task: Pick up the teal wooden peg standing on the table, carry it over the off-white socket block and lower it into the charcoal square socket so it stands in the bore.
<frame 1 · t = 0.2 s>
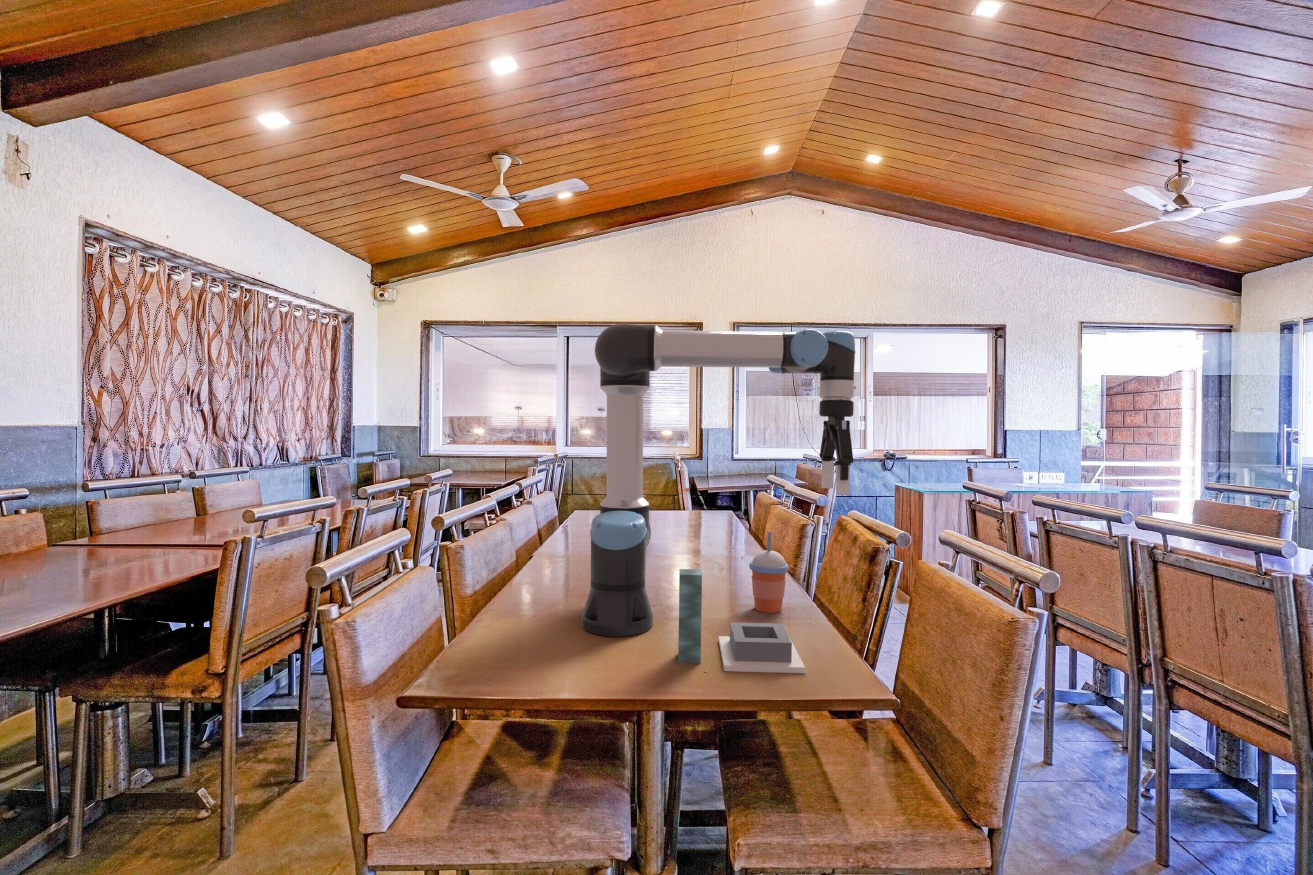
hand: (834, 491, 135), 28 cm above the table, tool pointing down, fingers open, 13 cm apart
peg: (689, 658, 107), on the table
socket block: (759, 656, 108), on the table
cup with straw: (768, 609, 136), on the table
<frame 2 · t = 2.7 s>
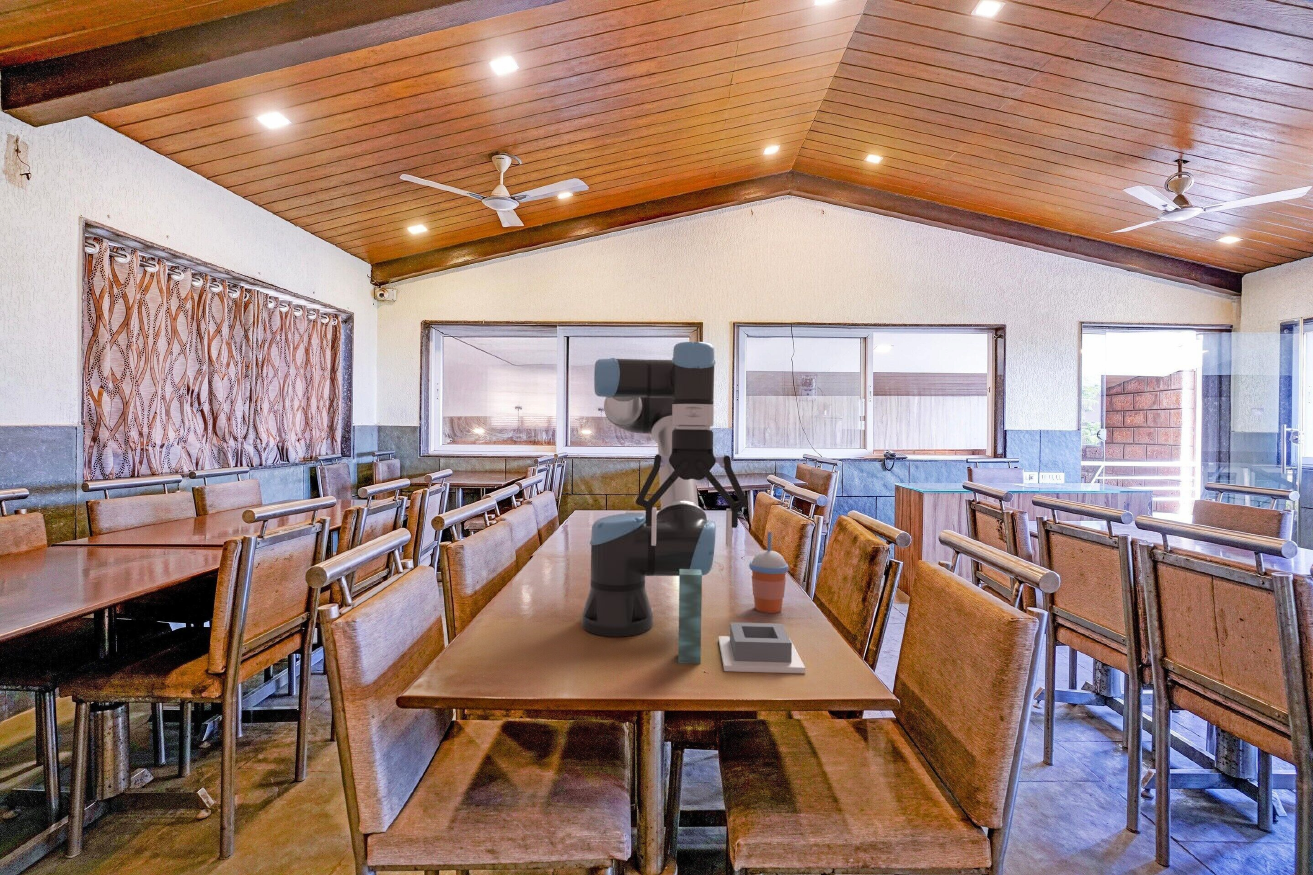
hand: (691, 545, 106), 21 cm above the table, tool pointing down, fingers open, 13 cm apart
nothing on the table moved.
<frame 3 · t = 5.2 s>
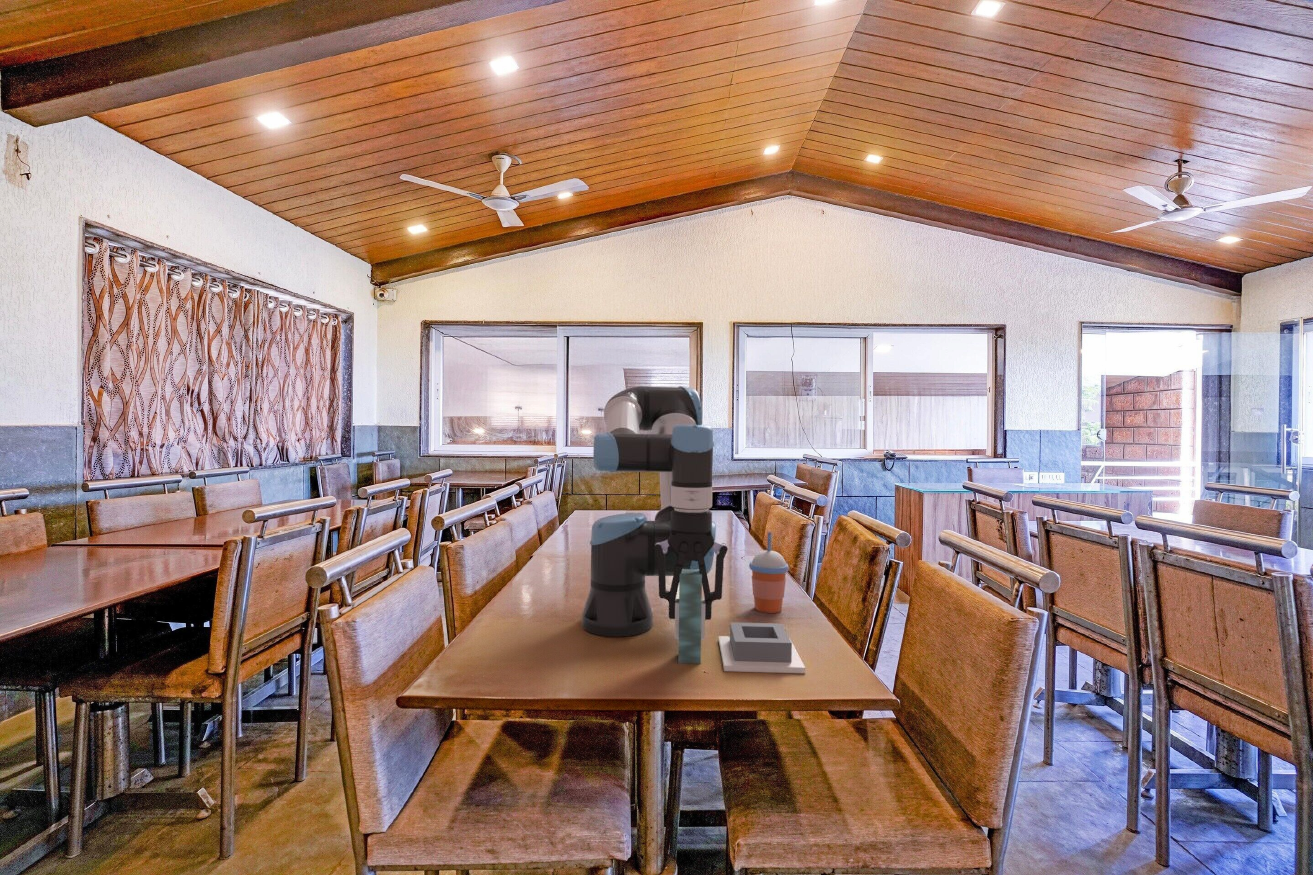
hand: (689, 636, 106), 4 cm above the table, tool pointing down, fingers closed on peg, 4 cm apart
peg: (689, 658, 107), on the table, touching gripper
everything else where it was.
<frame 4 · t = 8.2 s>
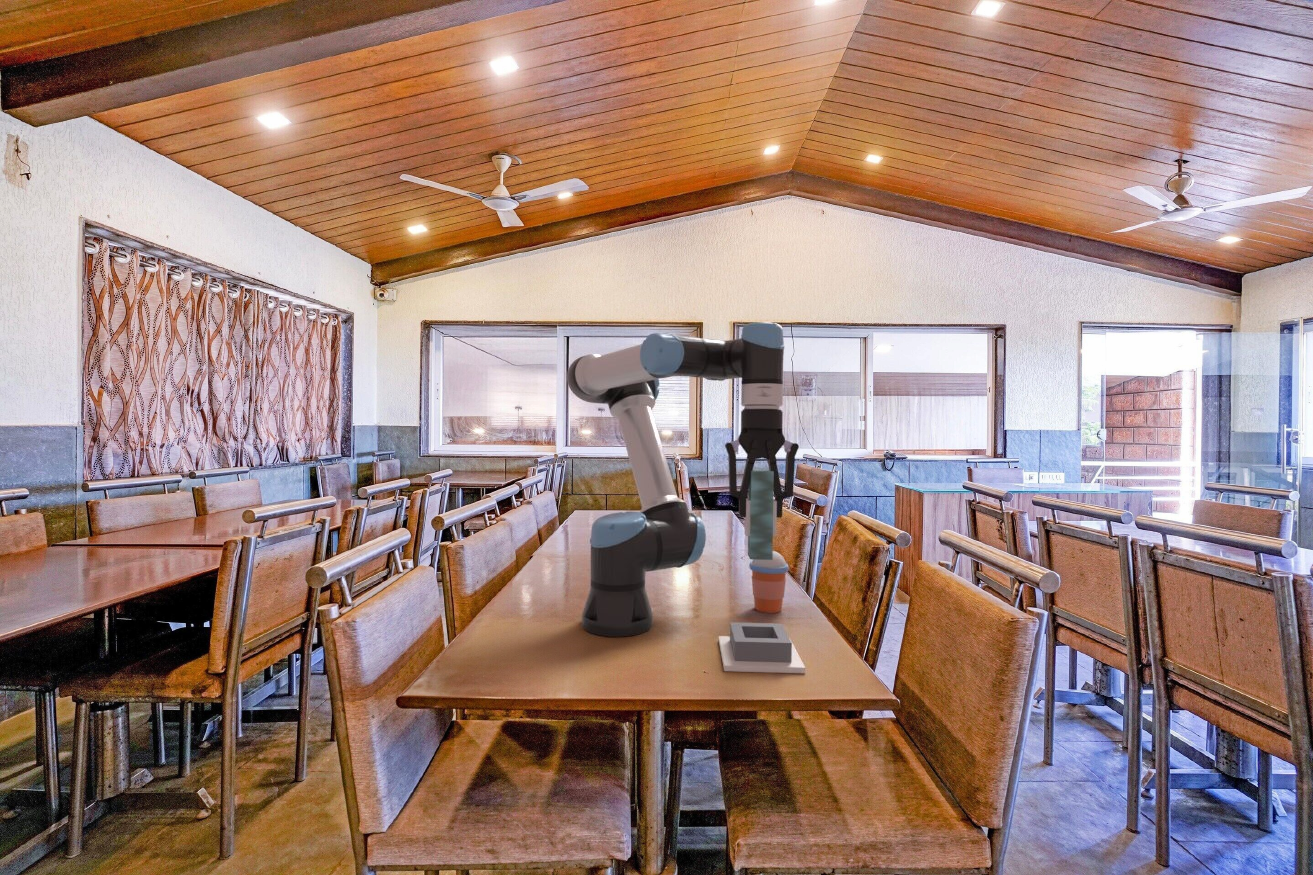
hand: (760, 534, 107), 23 cm above the table, tool pointing down, fingers closed on peg, 4 cm apart
peg: (759, 557, 107), point 19 cm above the table, touching gripper
everything else where it was.
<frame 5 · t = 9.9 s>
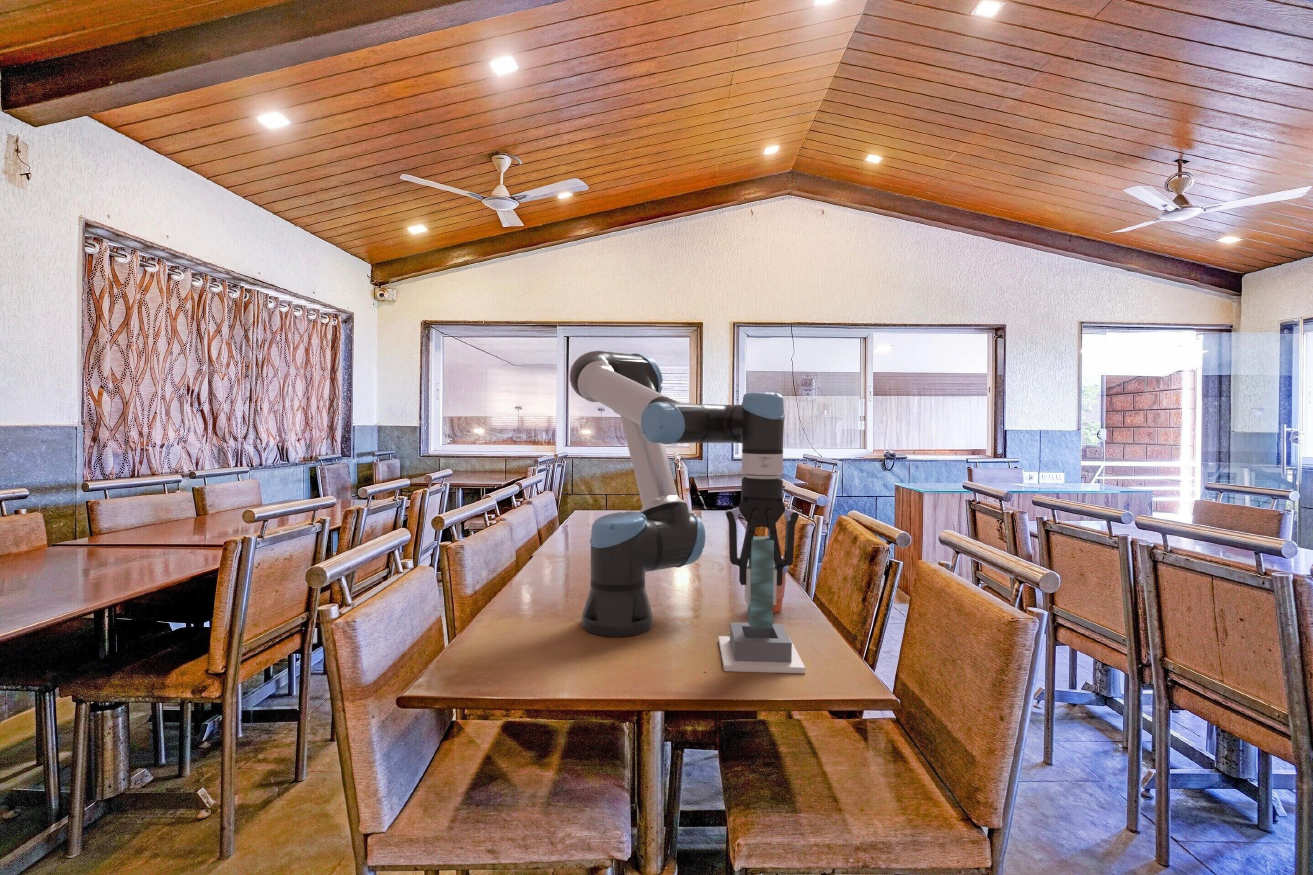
hand: (760, 602, 108), 10 cm above the table, tool pointing down, fingers closed on peg, 4 cm apart
peg: (760, 624, 108), point 6 cm above the table, touching gripper
everything else where it was.
when the fingers open (6 cm above the table, at t = 11.3 s): peg stays where it is, resting on socket block.
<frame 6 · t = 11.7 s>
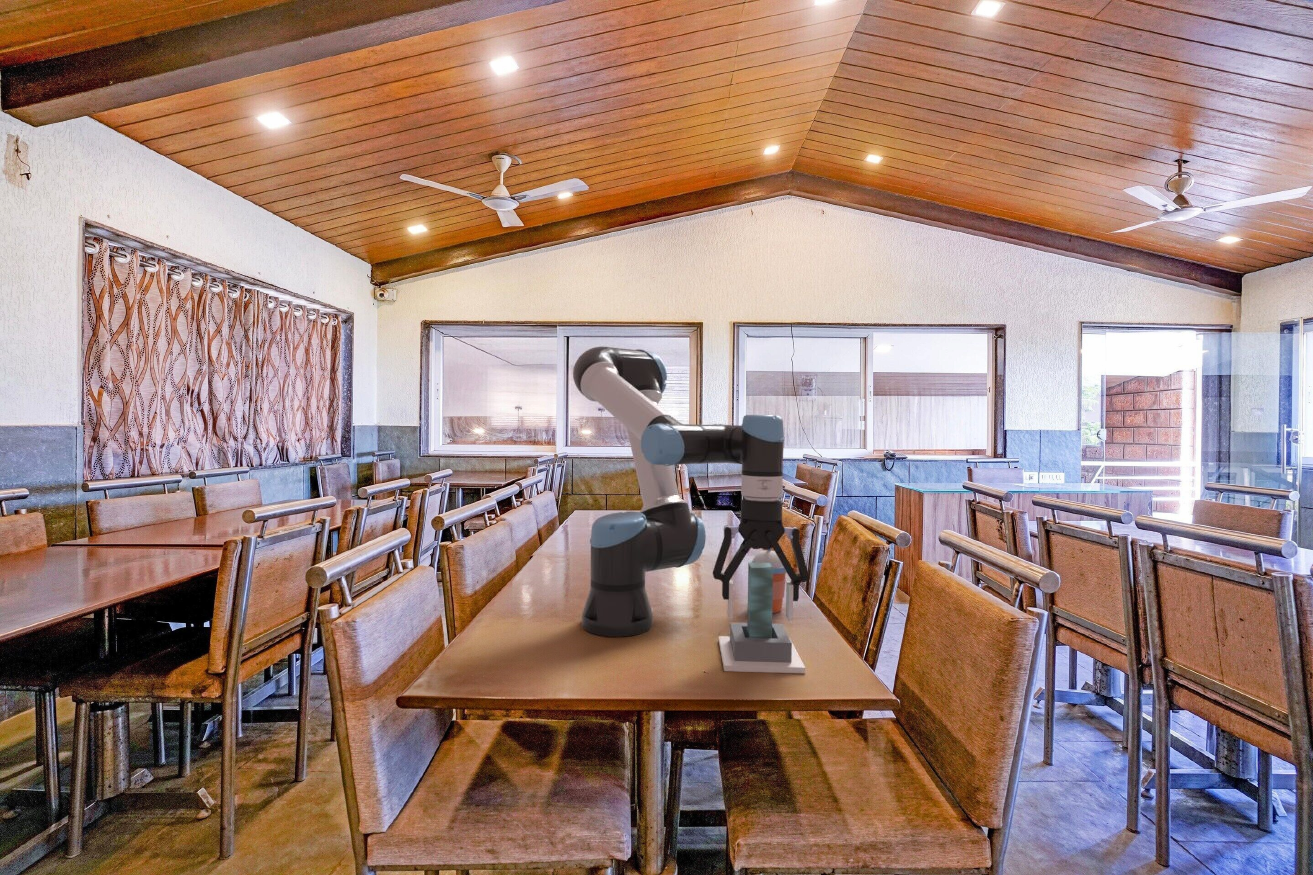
hand: (759, 617, 108), 7 cm above the table, tool pointing down, fingers open, 10 cm apart
peg: (759, 650, 108), point 1 cm above the table, touching socket block
everything else where it was.
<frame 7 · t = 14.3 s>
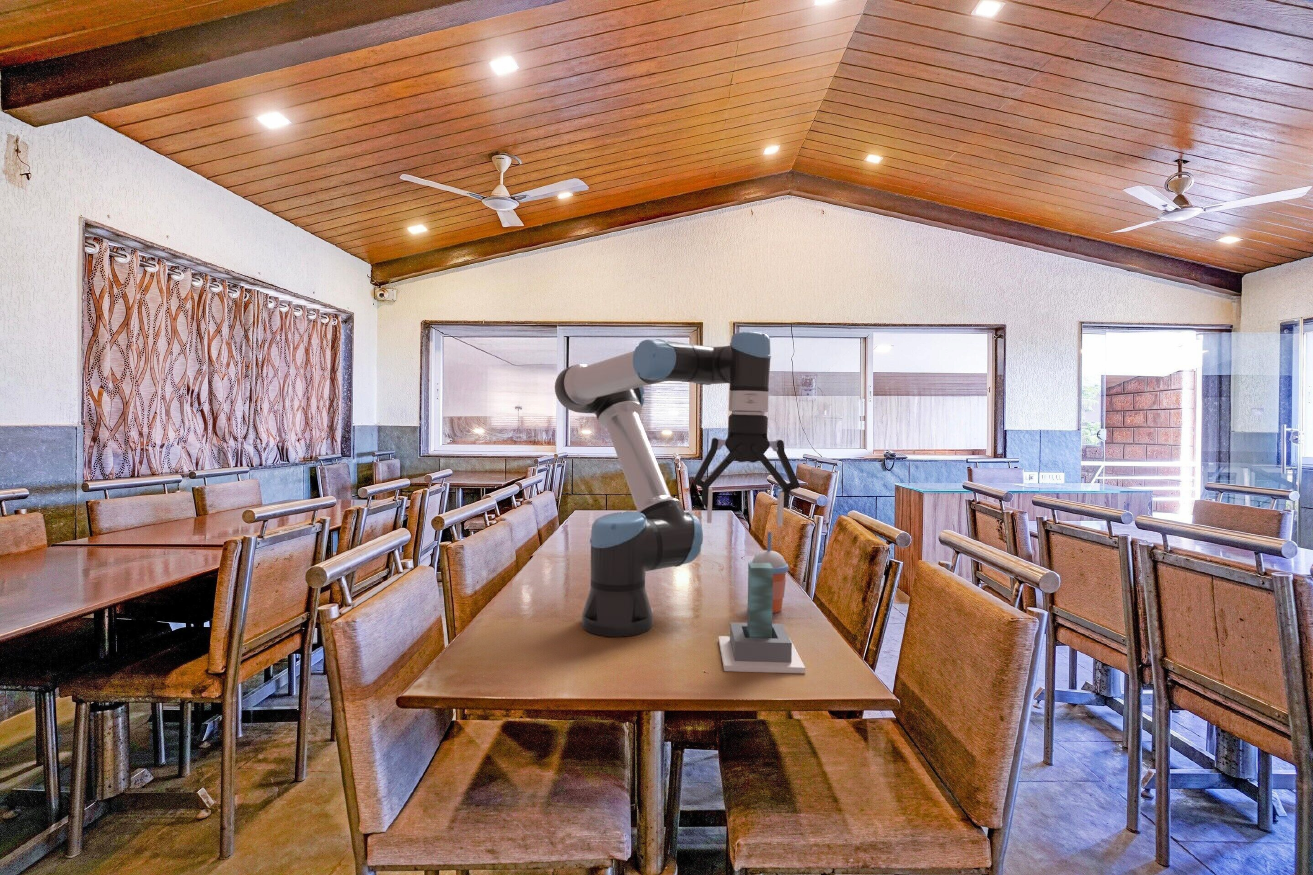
hand: (744, 523, 113), 24 cm above the table, tool pointing down, fingers open, 13 cm apart
nothing on the table moved.
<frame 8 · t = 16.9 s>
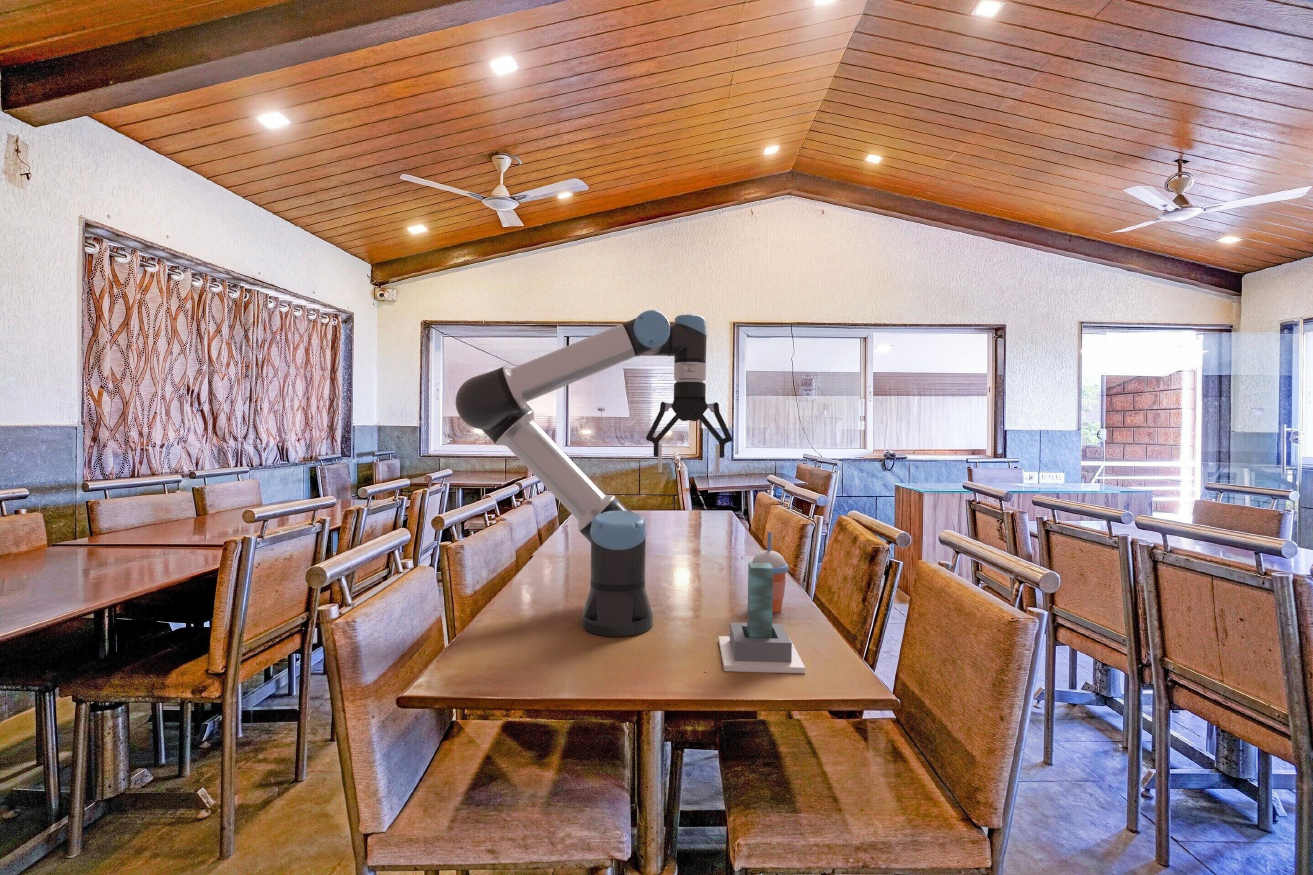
hand: (688, 471, 138), 32 cm above the table, tool pointing down, fingers open, 13 cm apart
nothing on the table moved.
at the end: peg 0.1 cm off-centre on the socket block, point 1.0 cm above the socket block's base; peg tilted 0°; the gripper is holding nothing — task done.
